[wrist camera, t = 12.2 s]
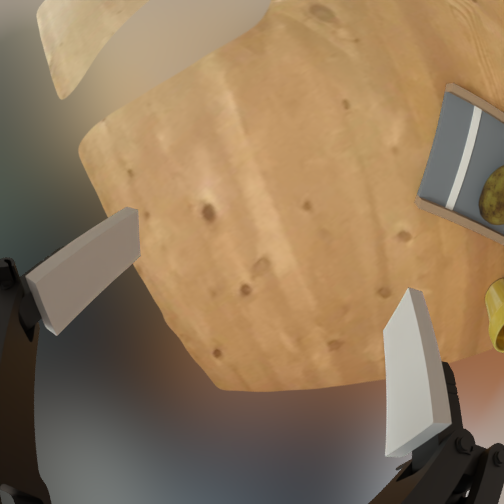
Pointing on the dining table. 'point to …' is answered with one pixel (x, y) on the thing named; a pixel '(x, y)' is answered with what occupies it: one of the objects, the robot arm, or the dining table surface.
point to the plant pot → (496, 313)
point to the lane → (463, 161)
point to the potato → (493, 198)
